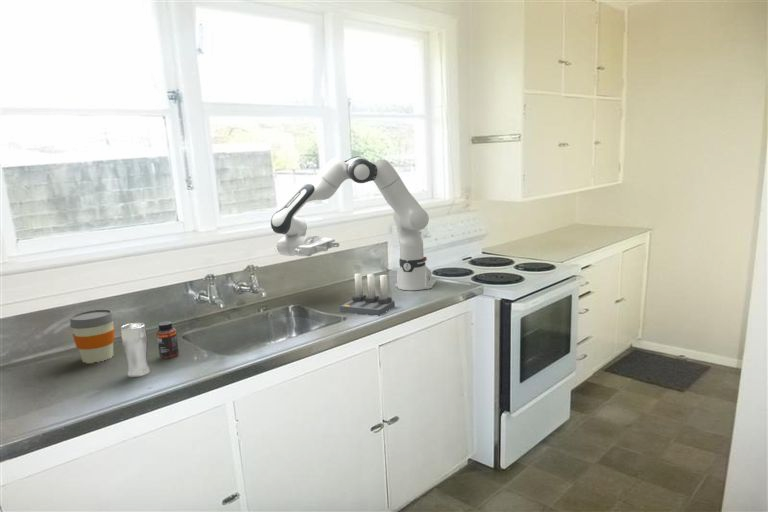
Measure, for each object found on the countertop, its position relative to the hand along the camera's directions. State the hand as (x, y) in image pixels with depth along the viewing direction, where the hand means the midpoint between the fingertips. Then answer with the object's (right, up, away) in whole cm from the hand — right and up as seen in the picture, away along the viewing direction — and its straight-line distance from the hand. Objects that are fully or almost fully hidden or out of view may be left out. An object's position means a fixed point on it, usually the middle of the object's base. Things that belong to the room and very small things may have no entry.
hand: (332, 246), depth 225 cm
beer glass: (-52, -40, -67) cm, 93 cm away
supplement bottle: (-49, -37, -53) cm, 81 cm away
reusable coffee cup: (-73, -38, -52) cm, 97 cm away
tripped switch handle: (+12, -22, -4) cm, 25 cm away
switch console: (+15, -26, -9) cm, 32 cm away
